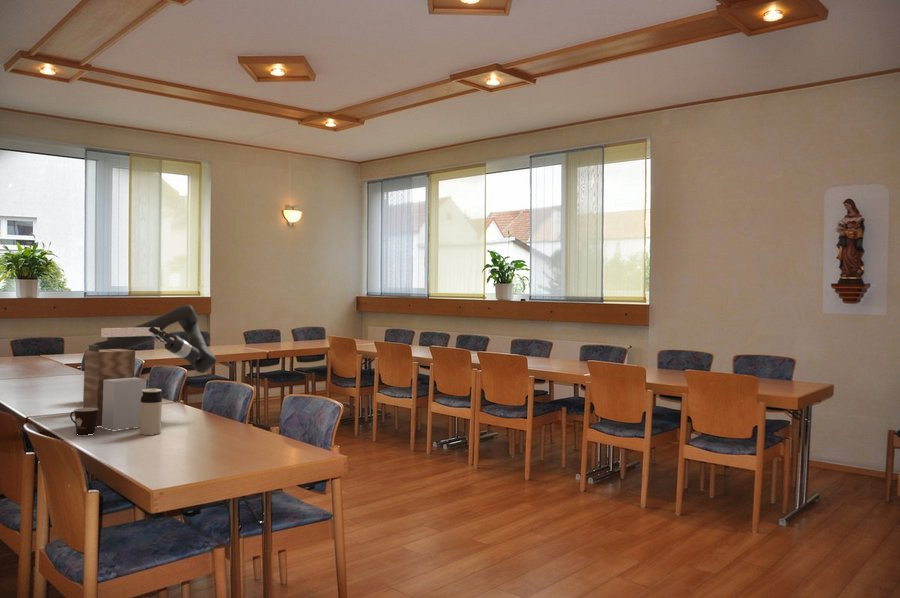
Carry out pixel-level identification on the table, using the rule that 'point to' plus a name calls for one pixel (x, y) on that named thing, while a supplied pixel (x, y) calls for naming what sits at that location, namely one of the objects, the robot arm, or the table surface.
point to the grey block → (122, 402)
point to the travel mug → (150, 411)
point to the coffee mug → (85, 420)
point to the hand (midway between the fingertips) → (148, 328)
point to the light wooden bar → (127, 332)
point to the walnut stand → (104, 373)
